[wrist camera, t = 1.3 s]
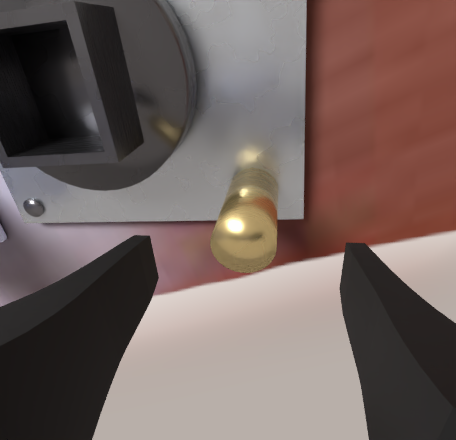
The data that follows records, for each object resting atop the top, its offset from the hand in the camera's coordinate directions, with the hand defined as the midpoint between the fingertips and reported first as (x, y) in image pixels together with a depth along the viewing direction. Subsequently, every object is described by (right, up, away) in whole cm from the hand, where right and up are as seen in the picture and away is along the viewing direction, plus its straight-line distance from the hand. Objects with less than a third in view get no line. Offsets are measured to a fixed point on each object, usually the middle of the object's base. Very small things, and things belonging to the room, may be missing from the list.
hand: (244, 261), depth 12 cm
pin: (+1, +3, +8) cm, 8 cm away
